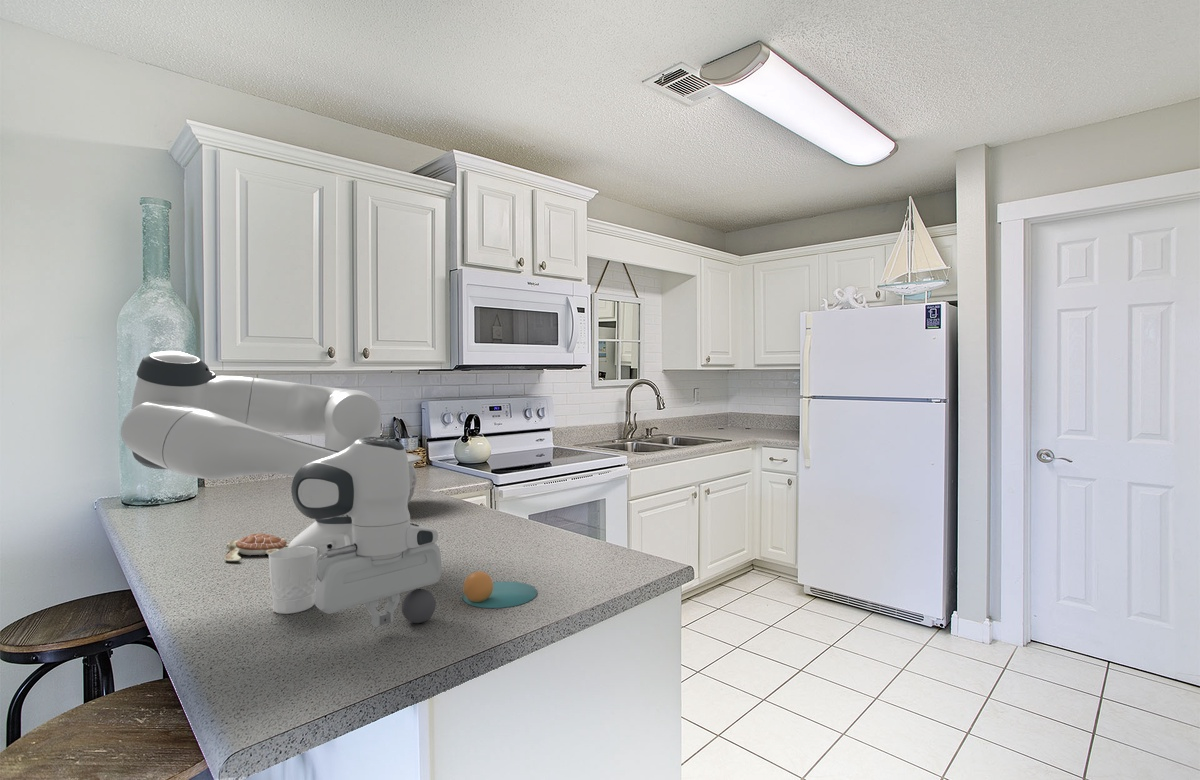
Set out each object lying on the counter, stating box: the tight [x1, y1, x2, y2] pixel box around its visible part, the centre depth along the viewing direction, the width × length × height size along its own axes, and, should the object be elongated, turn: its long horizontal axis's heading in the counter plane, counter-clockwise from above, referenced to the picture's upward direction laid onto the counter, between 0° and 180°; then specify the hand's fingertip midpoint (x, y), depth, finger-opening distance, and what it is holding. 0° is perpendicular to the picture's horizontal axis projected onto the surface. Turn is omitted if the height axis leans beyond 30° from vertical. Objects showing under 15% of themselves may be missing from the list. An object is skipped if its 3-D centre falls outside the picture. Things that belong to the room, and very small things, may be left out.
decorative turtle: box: [224, 532, 290, 562], centre depth 145 cm, size 18×17×5 cm
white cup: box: [268, 546, 318, 615], centre depth 109 cm, size 8×8×10 cm
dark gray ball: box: [401, 588, 437, 624], centre depth 102 cm, size 6×6×6 cm
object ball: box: [462, 570, 494, 602], centre depth 111 cm, size 6×6×6 cm
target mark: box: [461, 580, 538, 609], centre depth 115 cm, size 14×14×1 cm
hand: (382, 624), depth 97 cm, fingers closed
